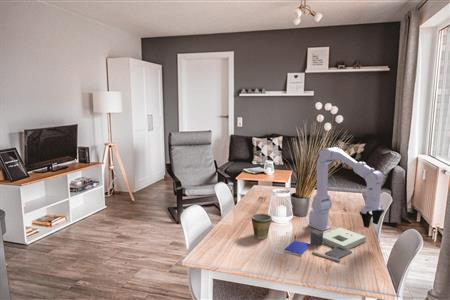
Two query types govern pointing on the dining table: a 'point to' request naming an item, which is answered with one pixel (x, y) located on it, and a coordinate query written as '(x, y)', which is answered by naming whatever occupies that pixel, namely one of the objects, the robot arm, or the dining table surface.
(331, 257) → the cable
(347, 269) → the dining table surface
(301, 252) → the hard drive
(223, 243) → the dining table surface
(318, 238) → the grey rectangular block
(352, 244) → the outlet plate
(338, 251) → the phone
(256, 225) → the ceramic cup
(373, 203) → the robot arm
